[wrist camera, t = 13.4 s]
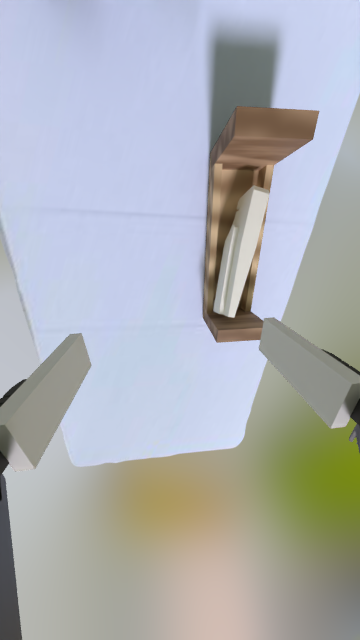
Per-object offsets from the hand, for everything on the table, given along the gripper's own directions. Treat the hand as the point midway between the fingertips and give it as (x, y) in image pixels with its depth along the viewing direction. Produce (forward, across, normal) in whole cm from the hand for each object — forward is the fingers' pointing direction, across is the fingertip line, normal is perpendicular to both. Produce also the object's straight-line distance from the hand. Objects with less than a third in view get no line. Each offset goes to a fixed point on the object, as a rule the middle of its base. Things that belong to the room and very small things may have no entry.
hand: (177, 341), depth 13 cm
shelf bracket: (+34, +16, +2) cm, 38 cm away
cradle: (+35, +16, +4) cm, 39 cm away
